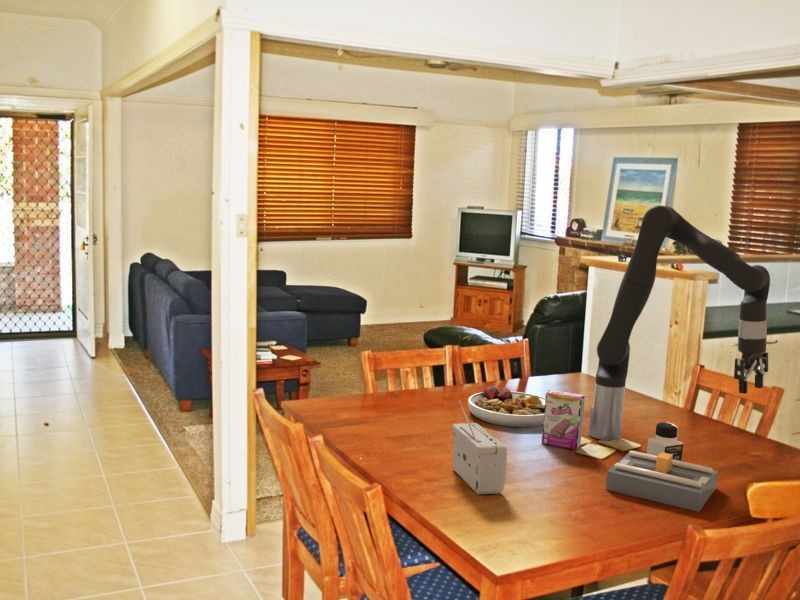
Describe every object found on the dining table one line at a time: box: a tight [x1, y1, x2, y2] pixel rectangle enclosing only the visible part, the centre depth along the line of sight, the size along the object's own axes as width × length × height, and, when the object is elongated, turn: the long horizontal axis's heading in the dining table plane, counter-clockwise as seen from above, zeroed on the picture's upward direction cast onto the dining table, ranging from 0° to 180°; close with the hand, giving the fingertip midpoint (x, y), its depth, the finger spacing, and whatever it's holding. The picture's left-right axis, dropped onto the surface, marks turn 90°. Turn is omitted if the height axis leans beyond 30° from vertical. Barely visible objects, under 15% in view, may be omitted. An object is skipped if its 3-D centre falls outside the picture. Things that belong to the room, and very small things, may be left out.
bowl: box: [467, 385, 546, 428], centre depth 290 cm, size 30×30×8 cm
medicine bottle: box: [646, 421, 684, 461], centre depth 248 cm, size 7×7×12 cm
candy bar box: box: [541, 389, 586, 451], centre depth 260 cm, size 11×5×16 cm, turn 65°
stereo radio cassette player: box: [451, 400, 508, 495], centre depth 226 cm, size 21×8×20 cm, turn 17°
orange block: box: [655, 452, 673, 474], centre depth 228 cm, size 3×5×4 cm, turn 148°
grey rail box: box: [605, 450, 719, 513], centre depth 229 cm, size 24×20×7 cm
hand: (750, 390), depth 247 cm, fingers open, 8 cm apart
